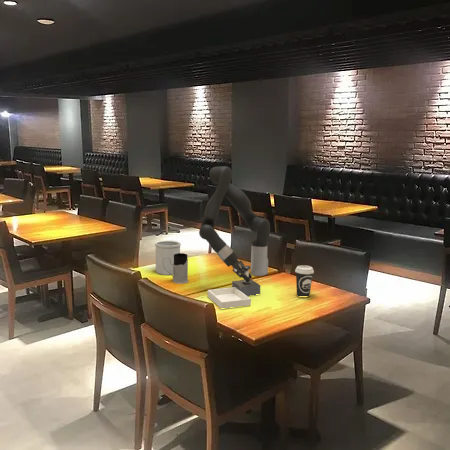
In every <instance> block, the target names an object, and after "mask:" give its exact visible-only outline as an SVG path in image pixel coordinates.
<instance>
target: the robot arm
mask: <svg viewBox="0 0 450 450" xmlns="http://www.w3.org/2000/svg"><path fill="white" fill-rule="evenodd" d="M209 179H210V180H211V182H212V183H213V184H214V185H215V187H216V189H215V191H214V193H213V194H212V195H211V197H210V199H208V201H207V204H206V206H205V210H204V212H203V213H204V214H203V219H202V222H201V224H200V228H199V230H198V231H199V232H198V235H199V237H200V238H201V239H202V240H206V242H207V243H208V244H209V246H210V248H211V249H212V251H214V252H215V253H216V255H217V256H218V258H220V260H221V261H222V262H223V263H224V264H225V265H226V266H227V267H230V266H231V267H232V272H233V273H234V274H235V275H237V276H238V278H242V280H245V281H246V282H247V283H248V282H249V281H250V279H252V278H253V276H257V277H261V276H266V275H268V274H269V258H268V244H269V240H270V233H271V231H270V230H271V223H270V221H269V220H268V219H267V218H262V217H259V216H257V215H256V213H255V212H254V211H253V209H252V203H251V201H250V199H249V197H248V196H247V195H246V193H245V192H244V191H242V189H240V188H238V187H237V186H235V185H233V184H232V183H231V181H232V179H233V170H232V169H231V168H230V167H229V166H226V165H225V166H221V165H220V166H213V167H211V169H210V170H209ZM225 197H226V198H227V200H228V201H229V203H230V204H231V205H232V206H233V209H235V210H236V211H237V212H238V214H239V215H240V216H241V218H242V219H243V220H244V222H245V224H246V225H247V227H248V228H249V230H250V231H251V232H253V233H254V234H256V238H253V239H252V240H251V248H250V249H251V251H250V252H251V253H250V255H251V256H250V267H251V269H250V273H249V277H248V276H247V275H246V274H245V273H244V269H243V266H246V265H245V264H244V262H242V261H243V260H238V259H239V255H238V254H237V253H236V252H235V251H234V250H233V249H232V247H230V245H228V244H227V243H226V242H225V241H224V240H223V238H221V237H220V234H218V233H217V231H216V229H215V223H216V221H217V219H218V216H219V212H220V209H221V206H222V205H221V204H222V203H223V200H224V198H225ZM252 275H253V276H252Z"/></svg>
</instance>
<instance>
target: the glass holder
mask: <svg viewBox="0 0 450 450" xmlns="http://www.w3.org/2000/svg"><path fill="white" fill-rule="evenodd" d="M165 258H169V257H165ZM165 258H164V259H165ZM164 259H163V260H164ZM169 259H170V258H169ZM188 261H189V260H188V254H187V253H183V252H182V253H181V252H180V253H177V254H174V264H171V260H170V264H171V265H173V274H170V273H169V272H168V271H167V270H166V269H165V267H164V264H163V267H164V269H165V270H166V271H167V272H168V273H169V274H170V275H169V276H172V282H173V283H174V284H180V285H182V284H187V283H189V279H188V277H189V276H188V274H189V273H188V270H189V266H188V265H189V262H188Z"/></svg>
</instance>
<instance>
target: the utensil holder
mask: <svg viewBox="0 0 450 450" xmlns="http://www.w3.org/2000/svg"><path fill="white" fill-rule="evenodd" d="M181 245H182V244H181V241H178V240H173V239H172V240H171V239H165V240H164V239H162V240H157V241H155V242H154V246H155V272H156V274H158V275H166V276H171V275H170V274H172V275H173V265H171V264H174V254H177V253H181ZM165 257H169V258H170V259H169V258H165ZM164 258H165V259H164ZM163 259H164V260H163ZM170 260H171V264H170ZM163 264H164V267H165V269H166V270H167V271H168V272H169V273H170V274H169V273H168V272H167V271H166V270H165V269H164V267H163Z"/></svg>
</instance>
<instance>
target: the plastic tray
mask: <svg viewBox="0 0 450 450" xmlns="http://www.w3.org/2000/svg"><path fill="white" fill-rule="evenodd" d="M207 298H208V299H210V300H211V301H212V302H213V303H214V304H215V303H216V304H217V305H218V306H219V307H218V306H217V305H216V304H215V305H216V306H217V307H218V308H219V309H221V308H230V307H238V306H245V307H248V306H247V305H251V302H252V299H251V298H250V296H246V295H245V294H244V293H242V292H241V291H240V290H238V289H237V288H236V287H232V286H231V287H223V288H216V289H215V288H213V289H207ZM238 308H239V307H238ZM230 309H231V308H230Z"/></svg>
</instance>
